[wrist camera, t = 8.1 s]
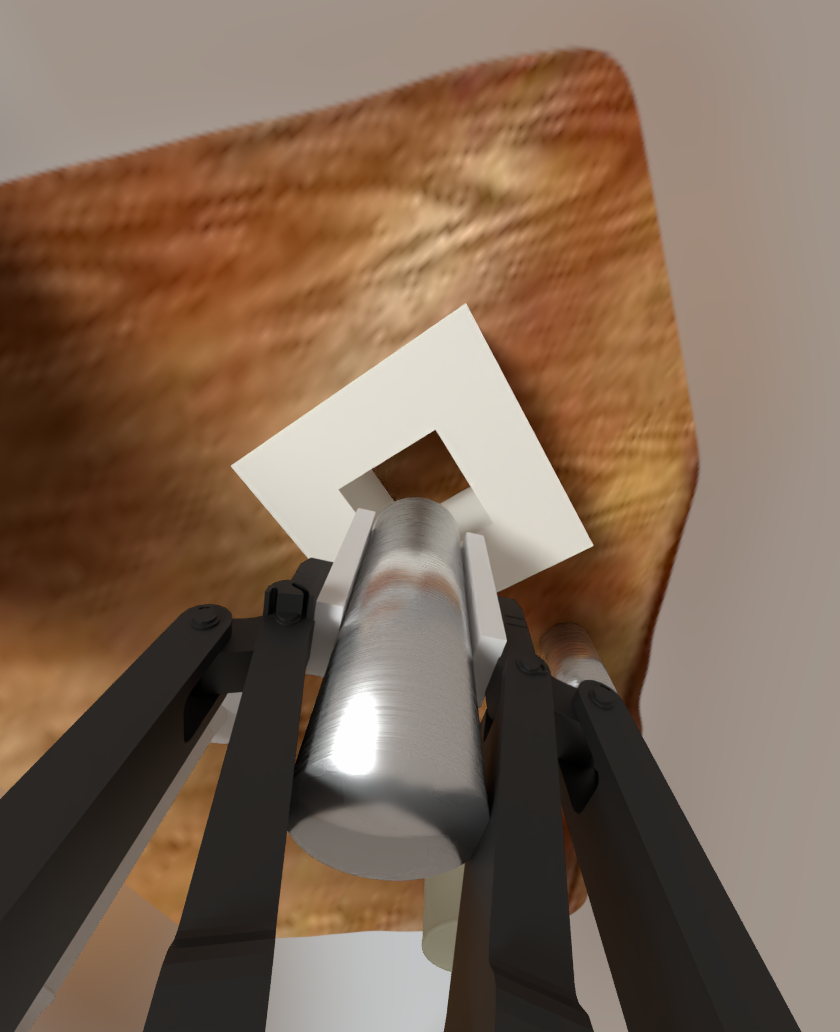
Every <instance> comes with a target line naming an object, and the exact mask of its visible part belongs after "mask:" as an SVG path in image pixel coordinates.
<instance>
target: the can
mask: <svg viewBox="0 0 840 1032" xmlns="http://www.w3.org/2000/svg"><path fill="white" fill-rule="evenodd" d="M464 866H465V863H464V864H463V865H461V866H459V867H457V868H455V869H453V870H451V871H449V872H446V873H443V874H440V875H436V876H432V877H429V878H425V883H424V918H423V939H422V950H423V953H424V955H425V956H426V958H427V959H428V960H429V961H430V962H432V963H433V964H435V965H436V966H438V967H440V968H442V969H444V970H447V971H450V972H452V966H453V957H454V949H455V941H456V933H457V924H458V916H459V908H460V899H461V891H462V883H463V875H464Z"/></svg>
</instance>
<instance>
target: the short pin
mask: <svg viewBox="0 0 840 1032" xmlns="http://www.w3.org/2000/svg"><path fill="white" fill-rule="evenodd" d="M540 648H541V651H542V654H543V657H544V660H545V663H546V664H547V665H548V666H549V669H550V672H551V675H552V676H553V677H555V678H556V679H558V680H560V681H562V682H564V683H567V684H569V685H571V686H573V687H576V688H578V686H579V684H580V682H582V681H584V680H595V681H598V682H601V683H603V684H605V685H607V686H608V687H610V688H611V689H612V690H614V691H615V692H616V693H617V691H616V689H615V687H614V685H613V683H612V681H611V679H610V677H609V675H608V673H607V671H606V669H605V667H604V665H603V663H602V661H601V659H600V657H599V655H598V653H597V651H596V649H595V647H594V645H593V643H592V641H591V639H590V637H589V635H588V633H587V631H586V630H585V629H584V628H583V627H581V626H579V625H577V624H573V623H562V624H557V625H555V626H553V627H551V628H549V629H548V630H547V631H546V632H545V633H544V634H543V636H542V637H541V640H540ZM617 694H618V693H617Z"/></svg>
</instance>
